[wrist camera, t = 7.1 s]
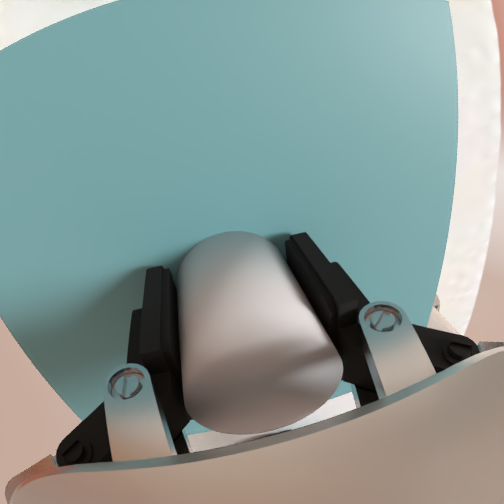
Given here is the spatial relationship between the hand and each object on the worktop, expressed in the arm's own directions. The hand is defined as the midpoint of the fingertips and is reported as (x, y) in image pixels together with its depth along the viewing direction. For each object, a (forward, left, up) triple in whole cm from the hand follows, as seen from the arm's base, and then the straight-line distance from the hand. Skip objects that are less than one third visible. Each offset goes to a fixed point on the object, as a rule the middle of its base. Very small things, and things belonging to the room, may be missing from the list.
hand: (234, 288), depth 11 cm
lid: (0, 0, -1) cm, 1 cm away
